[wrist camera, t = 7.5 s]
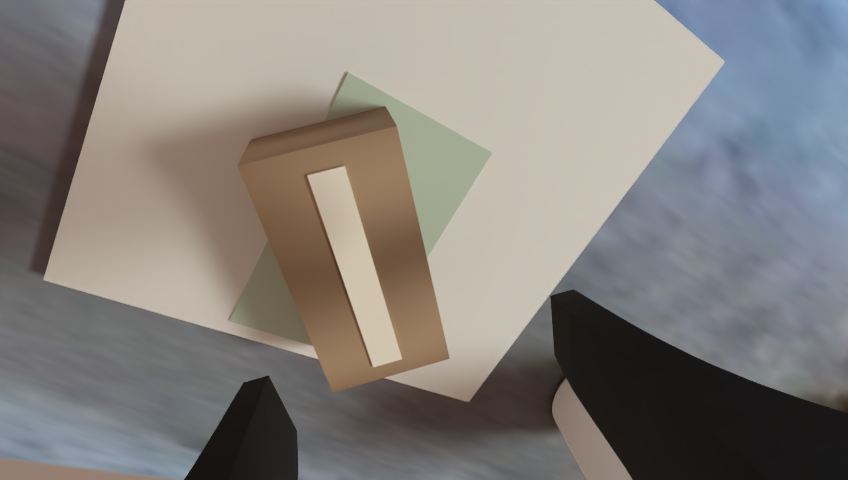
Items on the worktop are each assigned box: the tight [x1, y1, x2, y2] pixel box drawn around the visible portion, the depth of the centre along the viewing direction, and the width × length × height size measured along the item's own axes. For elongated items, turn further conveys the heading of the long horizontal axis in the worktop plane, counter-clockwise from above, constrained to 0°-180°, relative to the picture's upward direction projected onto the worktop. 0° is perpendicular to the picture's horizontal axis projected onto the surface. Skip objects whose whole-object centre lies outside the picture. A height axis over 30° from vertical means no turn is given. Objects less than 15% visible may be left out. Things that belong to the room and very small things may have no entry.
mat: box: [43, 0, 725, 402], centre depth 18 cm, size 20×20×1 cm
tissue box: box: [237, 106, 450, 393], centre depth 18 cm, size 10×5×3 cm, turn 11°
